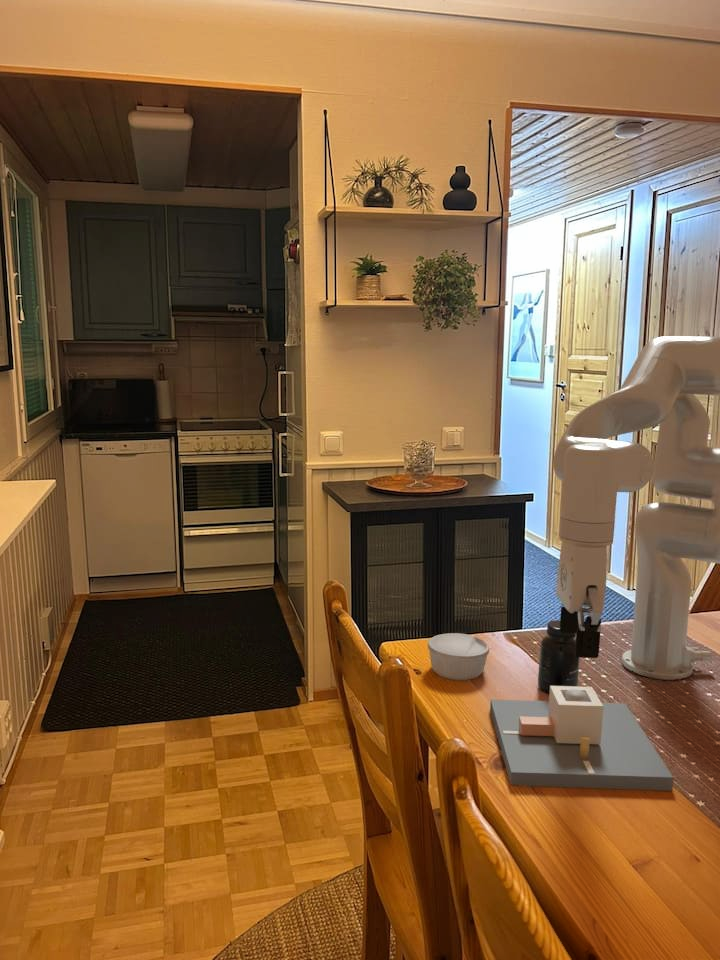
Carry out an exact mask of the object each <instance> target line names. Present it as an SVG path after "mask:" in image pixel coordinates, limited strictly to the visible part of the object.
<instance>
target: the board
mask: <svg viewBox="0 0 720 960" xmlns="http://www.w3.org/2000/svg"><path fill="white" fill-rule="evenodd" d="M565 700H566V701H581V702H586V693H585V692H583V691H580V690H576V689H571V690H567V691H566V695H565ZM601 703H602V705H603V718H602V732H601V744H589V742H590V738H589V737H587V736H581V744H572V743H556V740H555V738H554V736H531V735H521V733H520V730H519V716H523V717H548V710H549V700H519V699H518V700H517V699H516V700H514V699H490V703H489V705H490V707H489V708H490V709H489V712H490V715H491V719H492V722H493V727H494V730H495V733H496V737H497V740H498V744H499V747H500V748H501V749H500V751H501V755H502V759H503V762H505V763H504V766H505V765H506V767H505V769H507V770H506V774H507V773H508V774H507V777H508V776H509V778H508V780H510V781H509V785H510V784H511V785H526V786H525V787H541V786H547V787H549V788H578V789H579V788H580V789H607V790H609V789H611V790H632V791H633V790H636V791H639V790H640V791H668V792H671V791H673V787H674V776H673V774H672V773H671V771H670V770H669V768H668V767H667V765H666V763H665V762H664V760H663V759H662V757H661V756H660V754H659V752H658V751H657V750H656V748H655V747H654V745H653V743H651V740H650V739H649V738H648V736H647V735H646V733H645V732H644V730H643V728H642V727H641V726H640V724H639V722H638V721H637V719H636V718H635V716H634V715H633V713H632V712H631V710H630V709H629V707H628V706H627V704H626V703H623V702H621V703H619V702H601ZM511 785H510V786H511ZM547 787H546V788H547Z"/></svg>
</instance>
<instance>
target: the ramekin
mask: <svg viewBox="0 0 720 960" xmlns="http://www.w3.org/2000/svg"><path fill="white" fill-rule="evenodd" d="M427 648H428V650H429V657H430V664H431V665H430V666H431V668H432V670H433V671H434V672H435V674H436V675H438V676H440V677H441V678H442V677H443V678H445V679H449V680H453V681H469V680H473V679H476V678H478V677H480V675H482V674H483V672H484V670H485V666H486V662H487V657H488V655H489V653H490V646H489V644H488V643H487V641H485V640H483V639H482V638H480V637H477V636H475V635H470V634H467V633H460V632H459V633H458V632H455V633H454V632H451V633H449V632H447V633H442V634H437V635H434V636H433V637H431V638H430V639H428V642H427Z"/></svg>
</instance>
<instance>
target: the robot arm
mask: <svg viewBox="0 0 720 960" xmlns="http://www.w3.org/2000/svg"><path fill="white" fill-rule="evenodd" d="M696 395H703V396H720V337H718V336H713V335H711V336H710V335H709V336H706V335H705V336H703V335H702V336H698V335H696V336H695V335H692V336H691V335H687V336H686V335H669V336H668V335H667V336H666V335H665V336H659V337H656V338H653V339H652V340H649V341H648V342H647V343H646V344H645V345H644V346H643V348H642V349H641V351H640V352H639V354H638V355H637V357H636V359H635V361H634V363H633V364H632V367H631V368H630V370H629V373H628V374H627V376H626V377H625V379H624V381H623V382H622V385H621V387H620V389H619V390H617V391H615V392H612V393H610V394H608V395H606V396H604V397H602V398H600V399H599V400H597V401H595V402H594V403H591V404H590V405H588V406H586V407H585V408H583V409H581V410H580V411H579V412H578V413H577V414H576V415H575V416H574V417H573V418H572V419H571V421H570V422H569V424H568V425H567V427H566V429H565V431H564V432H563V434H562V436H560V439H559V442H558V444H557V446H556V449H555V452H554V456H553V461H552V462H553V463H552V465H553V471H554V474H555V476H556V477H557V479H558V480H559V481H561V482H562V489H561V504H560V505H561V506H560V517H559V518H560V519H559V532H558V533H559V534H558V540H559V541H561V547H560V553H559V561H558V567H557V568H558V569H557V579H556V589H555V592H556V596H557V598H558V599H559V601H560V602H561V605H562V606H560V619H559V620H560V631H561V632H562V633H576V637H575V639H576V644H575V655H576V657H580V659H581V658H584V659H585V658H587V659H588V658H589V659H597V658H599V654H600V652H599V651H600V643H601V641H600V640H601V631H602V626H601V625H602V621H603V620H602V614H603V612H604V610H605V602H606V592H607V574H608V573H607V569H608V567H607V566H608V563H607V562H608V553H607V552H608V546H611V545H613V544H614V536H615V524H616V523H615V521H616V512H617V511H616V509H617V497H618V496H617V495H618V493H634V492H638V491H639V490H641V489H642V488H644V487H645V486H646V485H647V484H648V483H649V481H650V480H651V478H652V485H653V487H654V489H655V490H656V491H657V492H659V493H662V494H665V495H669V496H674V497H681V498H687V499H695V500H704V501H709V502H711V503H712V504H713V508H709V507H703V506H702V507H701V506H696V505H695V506H694V505H692V504H691V505H690V504H689V505H688V504H681V503H675V502H667V501H665V502H664V501H659V502H658V501H657V502H652V503H651V502H650V503H647V504H645V505H644V506H643V507H642V508H640V509H639V511H638V513H637V515H636V517H635V526H634V528H635V537H636V538H635V541H636V549H637V569H636V582H635V583H636V585H635V596H634V611H633V622H632V623H633V624H632V634H631V635H632V636H631V647H630V649H629V650H627V651H624V652H623V653H622V654H621V663H622V665H623V666H624V667H625V668H626V669H627V670H628V671H631V672H632V671H633V673H635V674H637V675H640V676H644V677H647V678H650V679H656V680H667V681H671V680H672V681H675V680H676V679H677V680H681V679H682V678H683V679H686V678H688V677H690V676H691V675H692V674H693V672H694V671H693V669H694V665H693V663H695V661H698V662H708V663H709V662H712V661H713V655H712V652H711V651H710V650H700V648H699V647H698V646H693V647H692V646H688V645H687V638H688V637H687V635H688V628H689V627H688V626H689V625H688V624H689V616H690V603H691V595H692V593H691V592H692V577H691V574H690V571H689V570H688V568H687V566H686V563H684V561H683V559H688V560H693V561H700V562H706V563H712V564H720V447H711V446H710V447H708V438H709V431H710V426H711V419H710V416H709V414H708V412H707V409H706V408H705V407H704V406H703V404H702V403H701V401H700V400H699V398H697V396H696ZM656 426H658V434H657V441H656V446H655V453H654V458H653V455H652V453H651V452H650V450H649V448H647V447H646V446H645V445H643V444H641V443H637V442H634V441H627V440H616V439H615V440H614V439H610V438H612V437H616V436H617V437H618V436H620V435H625V434H630V433H635V432H639V431H642V430H646V429H650V428H653V427H656ZM585 616H586V617H585Z"/></svg>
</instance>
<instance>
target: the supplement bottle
mask: <svg viewBox="0 0 720 960" xmlns="http://www.w3.org/2000/svg"><path fill="white" fill-rule="evenodd" d="M546 628H547V629H546V636H544V637H543V638H541V640H540V645H539V647H540V648H539V659H538V660H539V661H538V675H537V687H538V688H539V690H540V691H541V692H542V693H544V694H545V695H546V694H547V695H549V693H550V686H578V687H579V685H578V684H579V672H580V659H581V657H576V655H575V644H576V633H562V632H561V631H560V619H559V620H550V621H549V622H548V623H547V627H546Z"/></svg>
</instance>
